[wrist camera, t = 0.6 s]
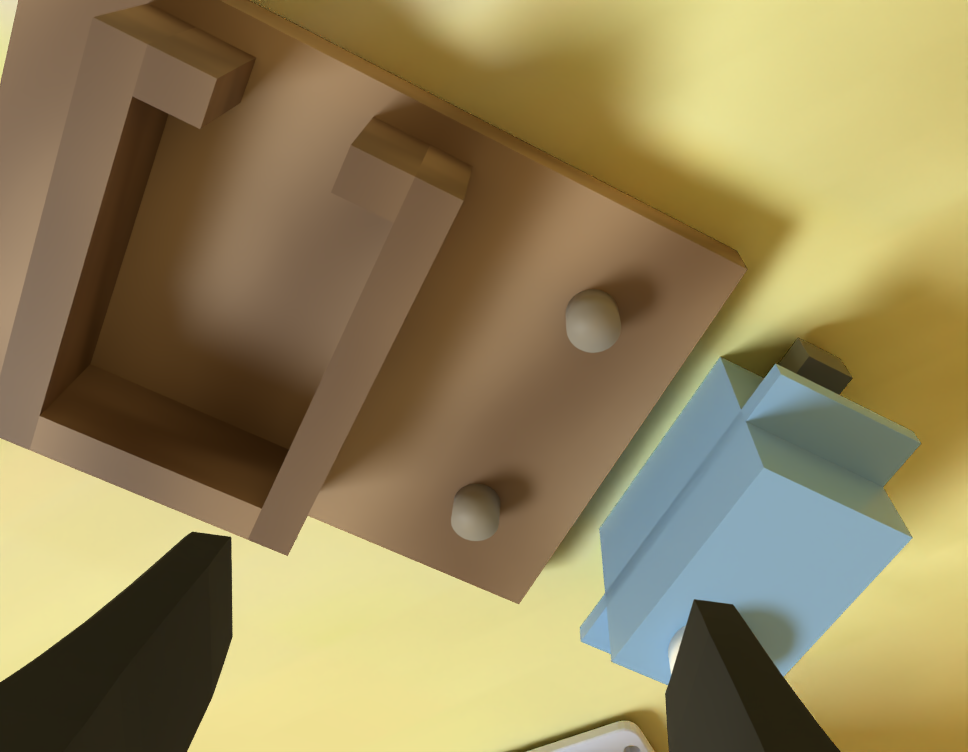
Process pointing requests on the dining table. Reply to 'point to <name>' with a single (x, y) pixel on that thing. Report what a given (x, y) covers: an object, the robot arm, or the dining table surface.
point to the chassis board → (320, 290)
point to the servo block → (752, 514)
